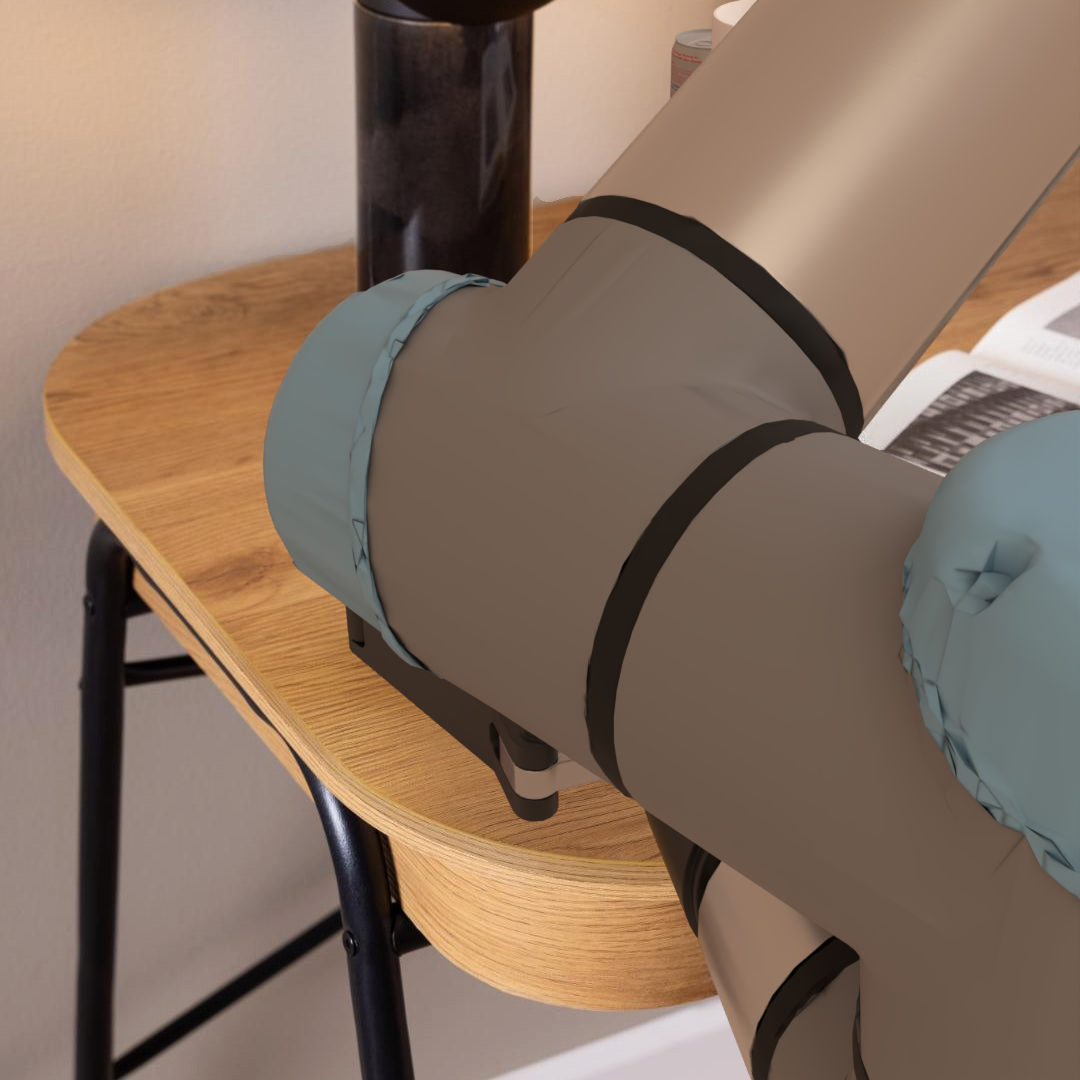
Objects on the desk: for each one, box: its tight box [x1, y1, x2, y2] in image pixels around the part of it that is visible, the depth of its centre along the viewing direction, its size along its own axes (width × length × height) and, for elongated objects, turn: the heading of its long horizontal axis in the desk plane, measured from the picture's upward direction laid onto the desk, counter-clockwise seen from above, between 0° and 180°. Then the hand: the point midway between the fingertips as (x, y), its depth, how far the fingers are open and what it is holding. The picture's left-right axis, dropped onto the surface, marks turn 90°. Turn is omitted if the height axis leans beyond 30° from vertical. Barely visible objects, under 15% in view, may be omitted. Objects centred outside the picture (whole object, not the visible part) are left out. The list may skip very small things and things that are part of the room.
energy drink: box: [669, 28, 712, 99], centre depth 113 cm, size 5×5×12 cm
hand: (617, 447), depth 55 cm, fingers open, 13 cm apart
